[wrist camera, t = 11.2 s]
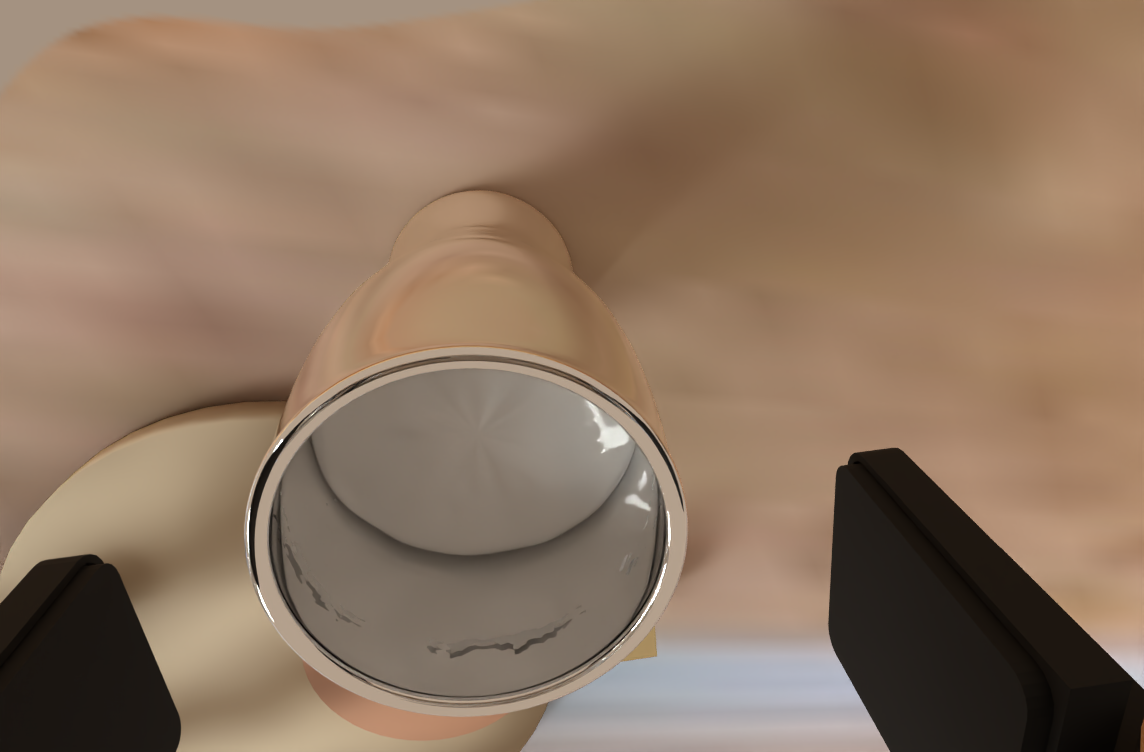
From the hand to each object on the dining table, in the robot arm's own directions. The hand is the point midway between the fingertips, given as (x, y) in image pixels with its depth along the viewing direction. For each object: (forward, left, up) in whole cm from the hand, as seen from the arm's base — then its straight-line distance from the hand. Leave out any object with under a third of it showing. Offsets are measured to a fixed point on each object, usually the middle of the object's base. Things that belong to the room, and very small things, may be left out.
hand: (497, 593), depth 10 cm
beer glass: (0, 0, -17) cm, 17 cm away
